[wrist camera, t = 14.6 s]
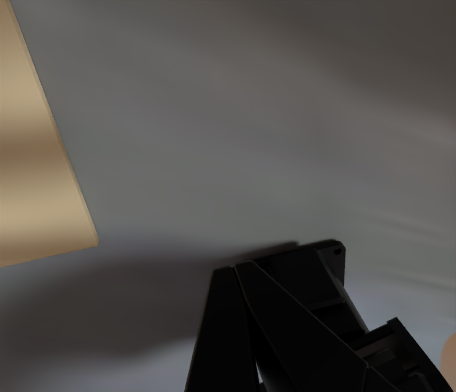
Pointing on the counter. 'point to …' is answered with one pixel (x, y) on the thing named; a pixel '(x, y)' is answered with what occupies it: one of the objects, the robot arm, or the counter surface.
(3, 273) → the counter surface
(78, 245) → the mat
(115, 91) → the counter surface
